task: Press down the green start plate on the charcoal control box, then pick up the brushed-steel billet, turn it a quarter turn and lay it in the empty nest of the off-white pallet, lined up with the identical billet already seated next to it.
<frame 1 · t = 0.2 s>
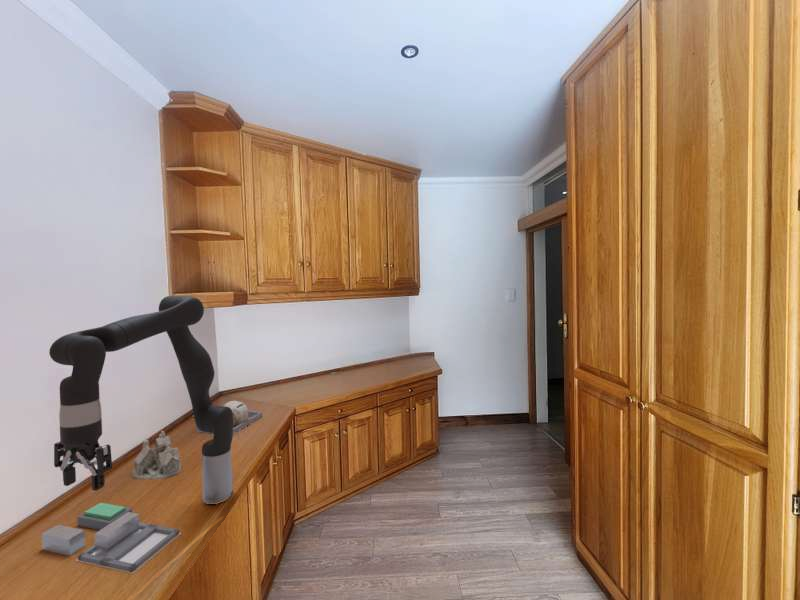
hand: (83, 486, 88), 29 cm above the worktop, tool pointing down, fingers open, 8 cm apart
coin bank tray: (230, 423, 201), on the worktop
billet: (64, 552, 106), on the worktop
start button: (105, 511, 118), point 4 cm above the worktop, slide at 0.0 cm
coin bank: (231, 424, 201), on the worktop, touching coin bank tray
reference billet: (118, 543, 108), resting on pallet
pallet: (131, 550, 107), on the worktop
ceramic cottage: (157, 472, 151), on the worktop
control box: (105, 524, 118), on the worktop
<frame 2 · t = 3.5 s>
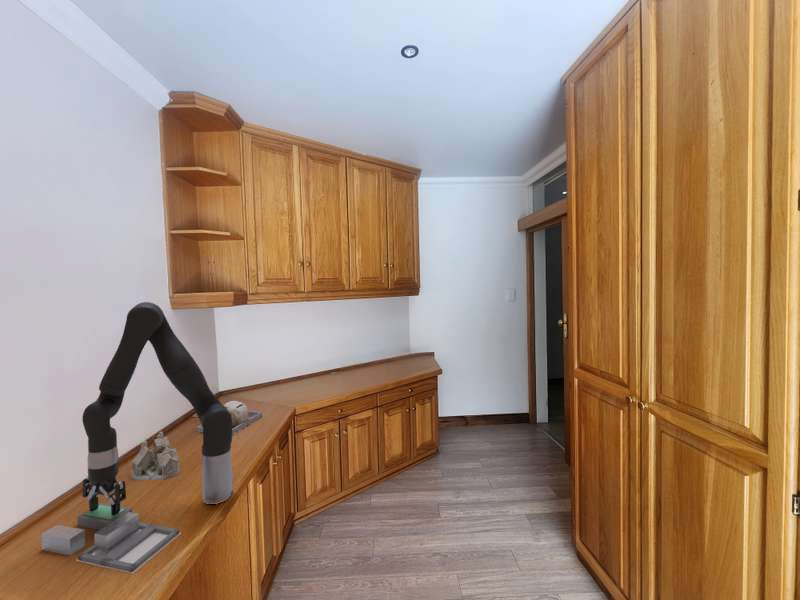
hand: (104, 511, 118), 4 cm above the worktop, tool pointing down
start button: (105, 514, 118), point 4 cm above the worktop, slide at 0.7 cm, touching gripper
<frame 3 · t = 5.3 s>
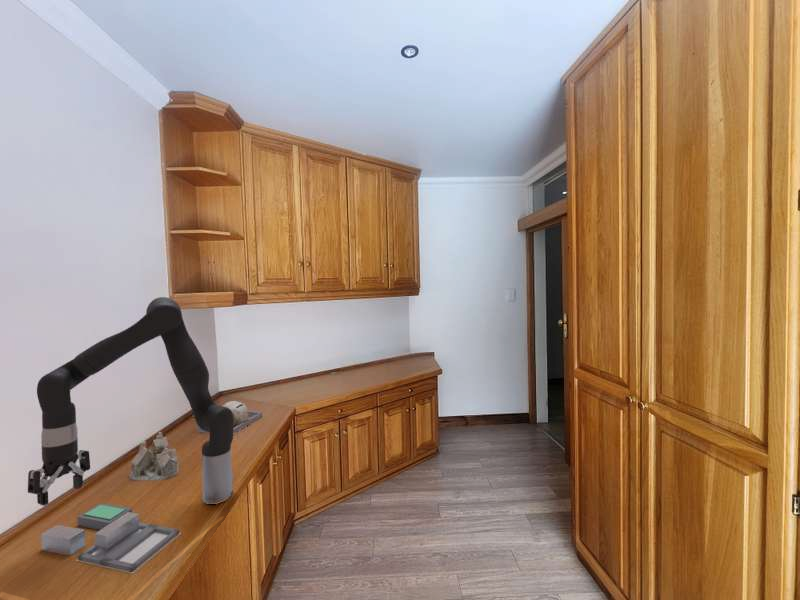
hand: (61, 495, 106), 16 cm above the worktop, tool pointing down, fingers open, 8 cm apart
start button: (105, 514, 118), point 3 cm above the worktop, slide at 0.8 cm
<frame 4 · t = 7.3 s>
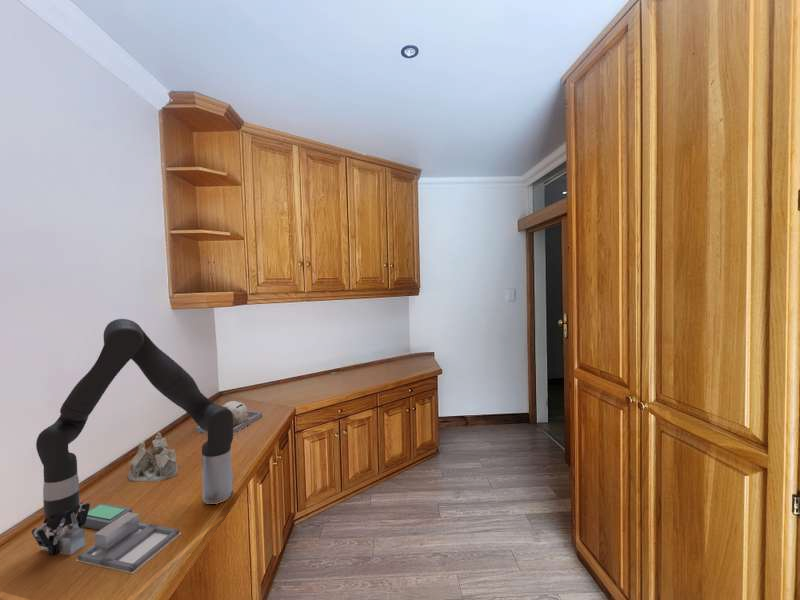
hand: (63, 549, 106), 1 cm above the worktop, tool pointing down, fingers closed on billet, 4 cm apart
billet: (63, 551, 106), on the worktop, touching gripper
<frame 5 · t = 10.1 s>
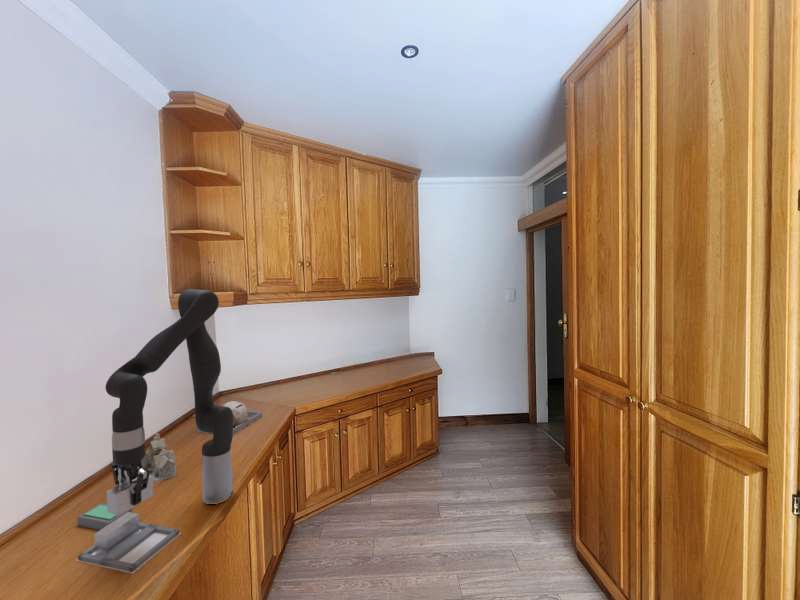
hand: (131, 501, 106), 15 cm above the worktop, tool pointing down, fingers closed on billet, 4 cm apart
billet: (131, 503, 106), point 14 cm above the worktop, touching gripper
when the fingers open (3 cm above the worktop, at t = 13.2 s): billet drops 1 cm, resting on pallet.
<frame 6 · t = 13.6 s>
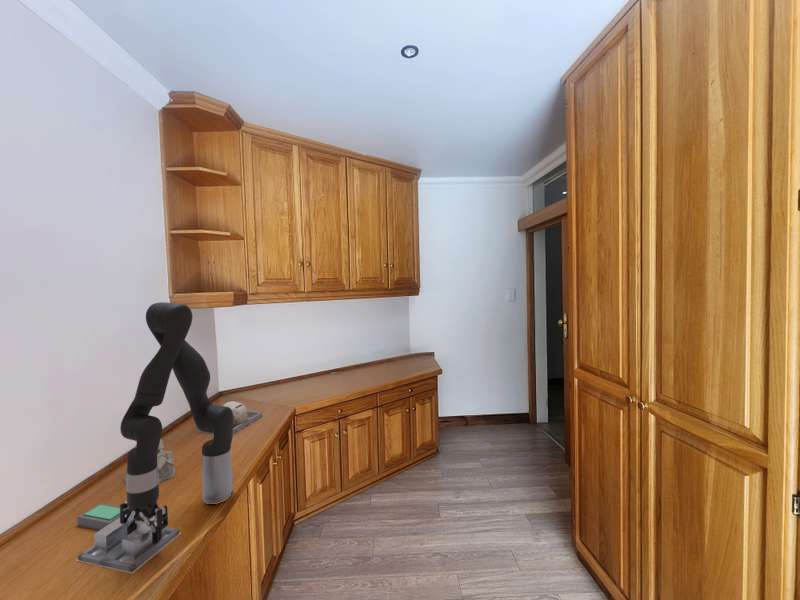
hand: (144, 539, 106), 4 cm above the worktop, tool pointing down, fingers open, 8 cm apart
billet: (144, 548, 106), point 1 cm above the worktop, touching pallet
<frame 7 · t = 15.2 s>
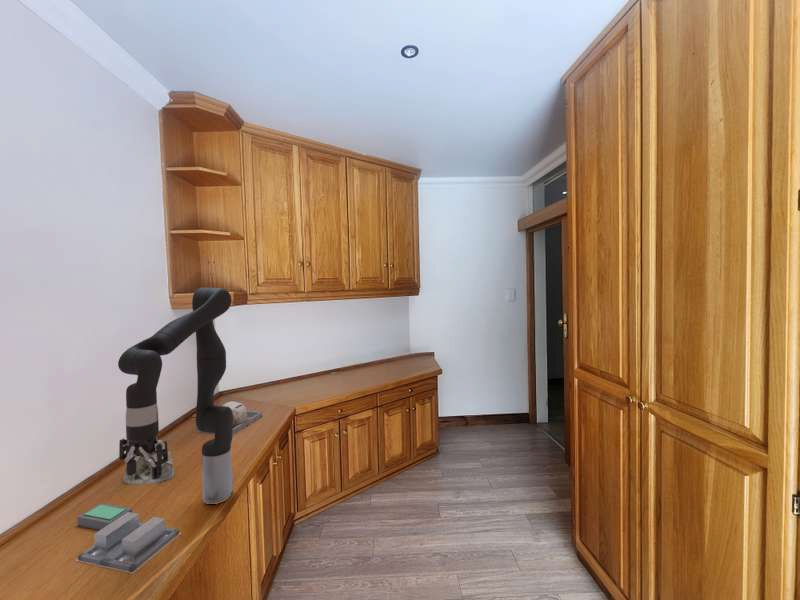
hand: (144, 476, 105), 22 cm above the worktop, tool pointing down, fingers open, 8 cm apart
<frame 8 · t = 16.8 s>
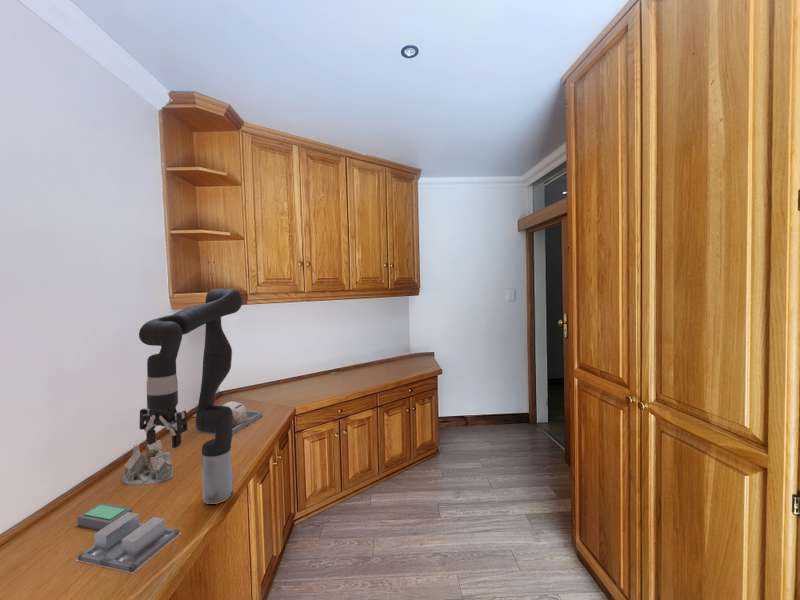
hand: (163, 445, 108), 30 cm above the worktop, tool pointing down, fingers open, 8 cm apart
at the end: start button slide at 0.8 cm; billet 0.1 cm from the target spot on the pallet, point 1.2 cm above the pallet's base; the gripper is holding nothing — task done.
